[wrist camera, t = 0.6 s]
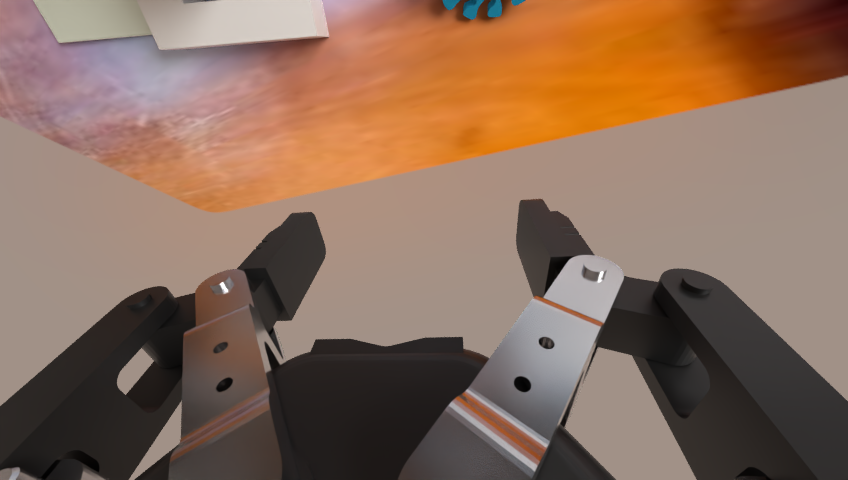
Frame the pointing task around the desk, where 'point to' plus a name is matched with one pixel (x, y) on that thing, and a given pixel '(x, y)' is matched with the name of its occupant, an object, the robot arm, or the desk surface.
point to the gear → (473, 5)
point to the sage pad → (93, 19)
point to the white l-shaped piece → (232, 22)
